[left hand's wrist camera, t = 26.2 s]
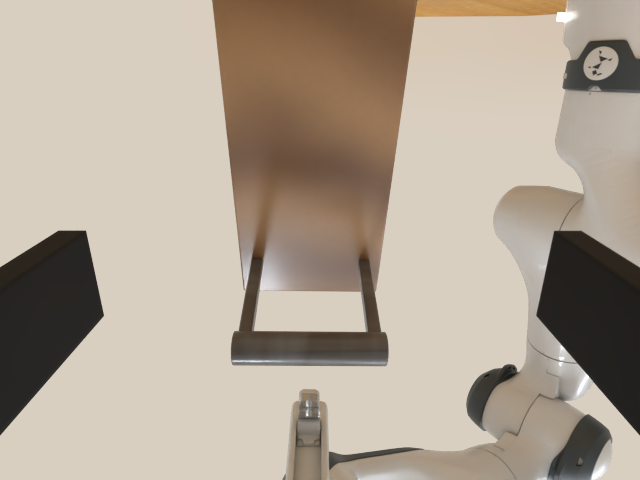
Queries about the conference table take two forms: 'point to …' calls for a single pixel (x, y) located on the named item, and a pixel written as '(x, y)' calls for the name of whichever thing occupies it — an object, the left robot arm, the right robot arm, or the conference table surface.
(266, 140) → the lid
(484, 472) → the right robot arm
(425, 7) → the conference table surface
